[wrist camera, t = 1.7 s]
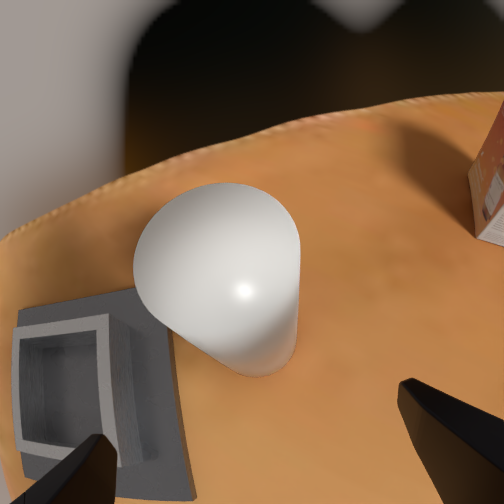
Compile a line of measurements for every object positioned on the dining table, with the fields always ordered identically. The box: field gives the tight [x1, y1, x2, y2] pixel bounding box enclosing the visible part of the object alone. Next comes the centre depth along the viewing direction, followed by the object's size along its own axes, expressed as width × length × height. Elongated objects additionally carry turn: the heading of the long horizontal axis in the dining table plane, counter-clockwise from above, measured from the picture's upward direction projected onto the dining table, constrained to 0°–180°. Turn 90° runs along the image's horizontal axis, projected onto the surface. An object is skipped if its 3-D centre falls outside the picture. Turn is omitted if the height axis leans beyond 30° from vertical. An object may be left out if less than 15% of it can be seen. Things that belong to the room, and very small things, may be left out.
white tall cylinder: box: [133, 183, 300, 377], centre depth 15 cm, size 6×6×12 cm
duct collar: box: [11, 288, 197, 501], centre depth 18 cm, size 16×16×4 cm
